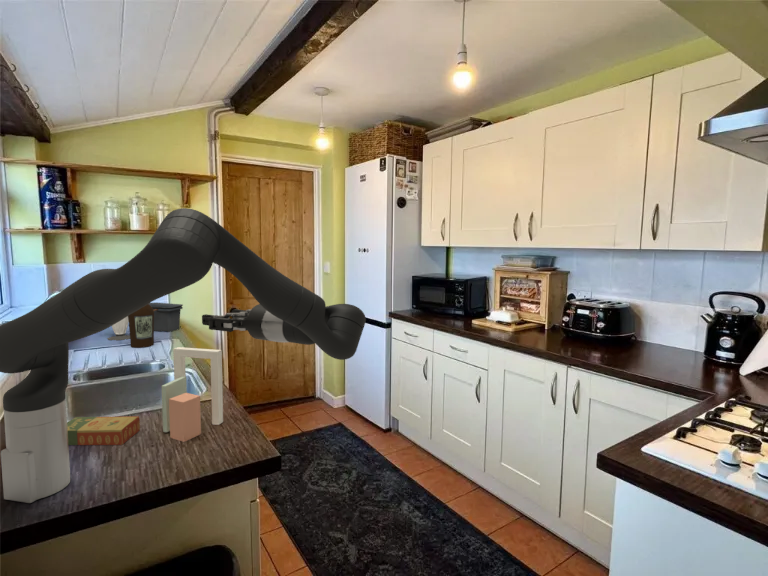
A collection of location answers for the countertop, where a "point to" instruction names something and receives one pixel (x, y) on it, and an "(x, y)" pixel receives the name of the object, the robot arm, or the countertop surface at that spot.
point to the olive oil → (142, 327)
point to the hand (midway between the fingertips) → (218, 316)
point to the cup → (120, 330)
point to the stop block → (185, 417)
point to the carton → (102, 430)
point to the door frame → (215, 375)
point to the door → (169, 392)
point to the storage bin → (166, 316)
